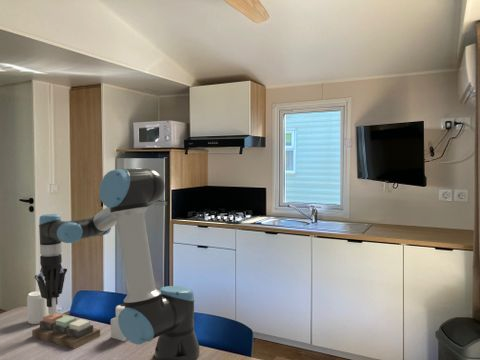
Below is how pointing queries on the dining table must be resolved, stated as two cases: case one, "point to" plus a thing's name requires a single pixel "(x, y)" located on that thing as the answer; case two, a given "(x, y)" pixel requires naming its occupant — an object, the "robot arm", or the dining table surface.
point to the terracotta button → (52, 318)
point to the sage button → (65, 321)
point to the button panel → (65, 334)
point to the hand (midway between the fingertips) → (52, 314)
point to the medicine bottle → (117, 325)
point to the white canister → (36, 307)
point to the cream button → (79, 325)
